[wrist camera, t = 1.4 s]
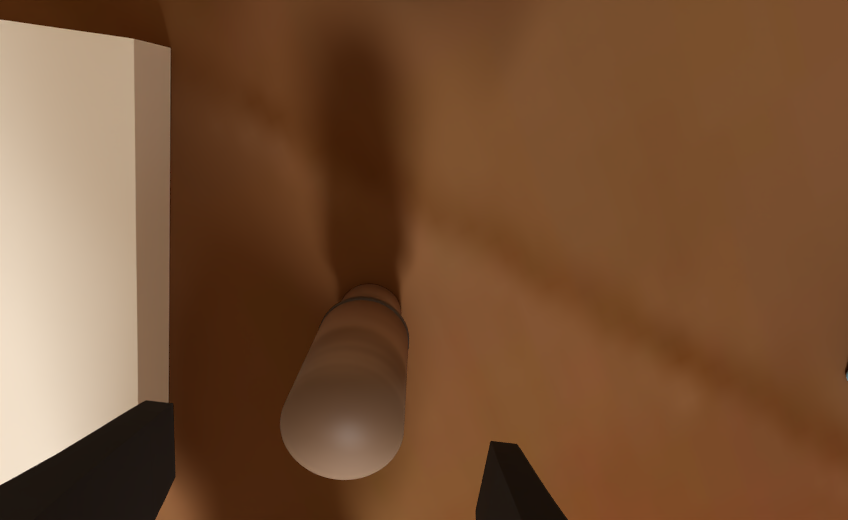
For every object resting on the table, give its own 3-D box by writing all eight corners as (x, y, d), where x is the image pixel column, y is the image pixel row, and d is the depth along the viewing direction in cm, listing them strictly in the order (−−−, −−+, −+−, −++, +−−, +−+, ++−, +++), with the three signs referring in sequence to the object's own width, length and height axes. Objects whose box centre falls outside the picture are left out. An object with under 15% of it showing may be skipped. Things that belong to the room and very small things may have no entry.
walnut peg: (404, 354, 22) (396, 486, 14) (326, 345, 22) (275, 473, 14) (415, 280, 21) (412, 378, 13) (333, 270, 21) (283, 363, 13)
